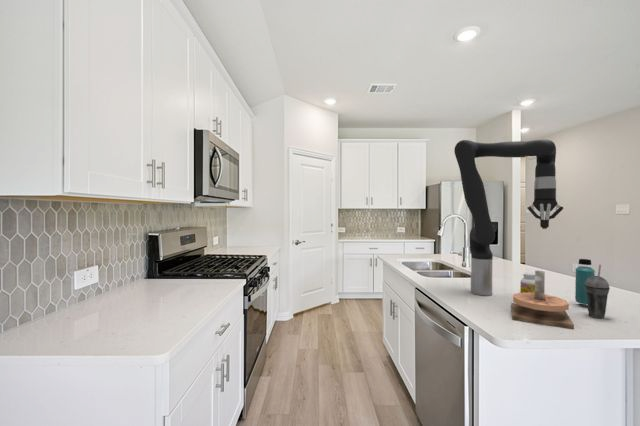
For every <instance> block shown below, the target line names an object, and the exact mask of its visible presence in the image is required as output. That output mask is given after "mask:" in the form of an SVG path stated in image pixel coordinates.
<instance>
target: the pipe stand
mask: <svg viewBox="0 0 640 426" xmlns="http://www.w3.org/2000/svg"><path fill="white" fill-rule="evenodd" d="M534 274H535V299H536V300H544V294H545V287H546V286H545V284H546V282H545V280H546V279H545V274H546V272H545V271H543V270H535V271H534ZM510 306H511V308H512V309H511V317H512V320H513V321H517V320H520V321H519V322H524V321H525V322H526V323H530V322H531V323H532V324H537V325H545V326H551V327H556V328H557V327H558V328H564V329H569V330H574V329H575V324H574V323H573V321H572V319H571V318H570V315H568V312H567V310H565V311H543V310H535V309H531V308H527V307H523V306H520V305H518V304H516V303H514V302H511V304H510Z"/></svg>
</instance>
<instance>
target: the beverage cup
mask: <svg viewBox="0 0 640 426" xmlns="http://www.w3.org/2000/svg"><path fill="white" fill-rule="evenodd" d="M601 268H602V264H598V272H597V275H595V276H592V277H589V278H588V279H587V280H586V282H585V289H586V293H587V303H588V305H587V312H588V316H589V317H591V318H594V319H601V320H602V319H603V320H604V319H605V316H606V311H607V304H608V296H609V293H610V284H609V282H608V280H607V279H605V278H604V277H601V276H600V274H601Z"/></svg>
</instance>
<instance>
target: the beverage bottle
mask: <svg viewBox="0 0 640 426" xmlns="http://www.w3.org/2000/svg"><path fill="white" fill-rule="evenodd" d="M578 264H579V265H581V266H578V267H576V268H575V294H574V299H575V302H576V303H579V304H582V305H587V306H588V303H587V293H586V289H585V282H586V280H587V279H588V278H589V277H592V276H596V275H595V273H596V272H595V269H593V267H589V266H592V260H591V259H590V258H589V259H587V258H579V259H578ZM582 265H585V266H582Z"/></svg>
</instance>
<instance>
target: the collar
mask: <svg viewBox="0 0 640 426" xmlns="http://www.w3.org/2000/svg"><path fill="white" fill-rule="evenodd" d="M512 297H513V298H512V300H513V303H516V304H518V305H520V306H523V307H527V308H531V309H535V310H543V311H568V310H569V309H570V308H569V306H570V304H569V302H568V301H567V300H565V299H563V298H560V297H559V296H553V295H549V294H547V293H546V294H545V293H544V300H536V299H535V293H520V292H517V293H513V294H512Z"/></svg>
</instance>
